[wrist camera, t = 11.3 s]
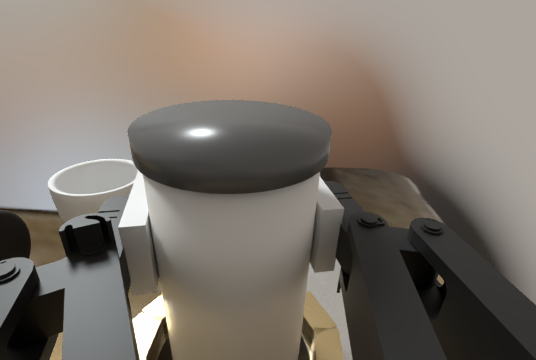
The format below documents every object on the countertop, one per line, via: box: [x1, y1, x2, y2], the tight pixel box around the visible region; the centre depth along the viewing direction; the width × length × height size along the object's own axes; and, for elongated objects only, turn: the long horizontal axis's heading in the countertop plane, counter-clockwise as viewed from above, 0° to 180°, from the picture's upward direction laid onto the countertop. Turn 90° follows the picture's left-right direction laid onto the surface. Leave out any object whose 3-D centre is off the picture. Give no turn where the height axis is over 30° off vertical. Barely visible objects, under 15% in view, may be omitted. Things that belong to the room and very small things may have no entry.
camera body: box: [133, 259, 353, 360], centre depth 17 cm, size 16×12×6 cm
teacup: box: [48, 159, 138, 223], centre depth 31 cm, size 10×8×5 cm
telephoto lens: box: [128, 100, 332, 360], centre depth 12 cm, size 6×6×10 cm
